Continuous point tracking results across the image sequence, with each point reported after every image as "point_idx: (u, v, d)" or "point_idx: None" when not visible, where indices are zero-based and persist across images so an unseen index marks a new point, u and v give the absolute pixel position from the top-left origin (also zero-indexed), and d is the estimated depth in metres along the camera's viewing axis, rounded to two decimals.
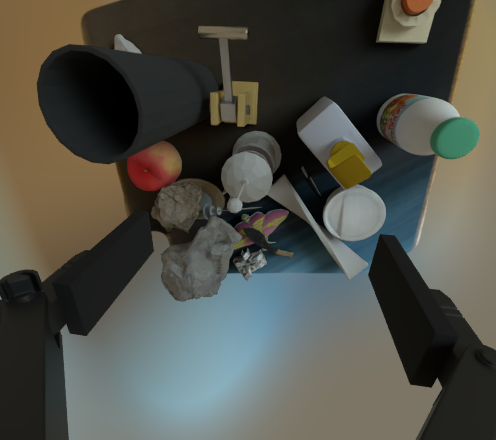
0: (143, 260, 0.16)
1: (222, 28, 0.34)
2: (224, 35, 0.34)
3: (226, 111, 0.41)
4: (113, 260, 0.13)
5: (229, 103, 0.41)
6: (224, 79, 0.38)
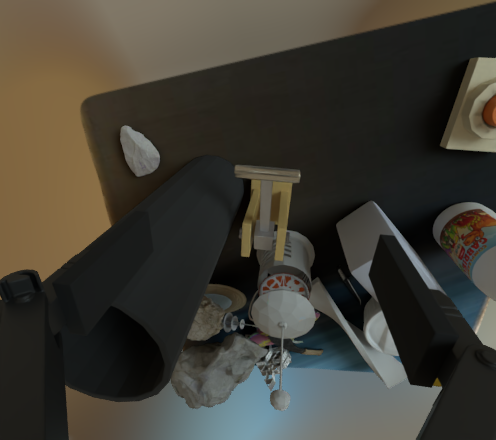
0: (143, 260, 0.16)
1: (266, 170, 0.26)
2: (269, 178, 0.26)
3: (260, 242, 0.33)
4: (113, 260, 0.13)
5: (266, 235, 0.32)
6: (262, 214, 0.30)
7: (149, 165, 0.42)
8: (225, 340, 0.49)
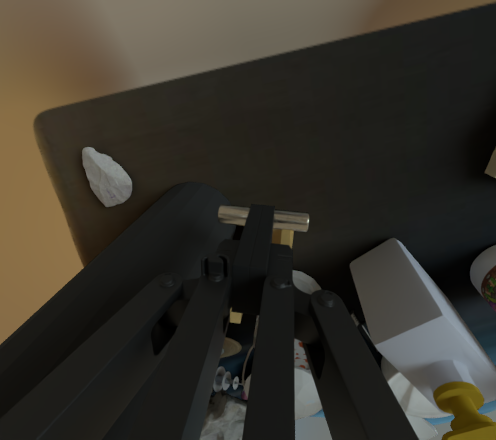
0: None
1: None
2: None
3: None
4: None
5: None
6: None
7: (119, 194, 0.35)
8: (216, 397, 0.41)
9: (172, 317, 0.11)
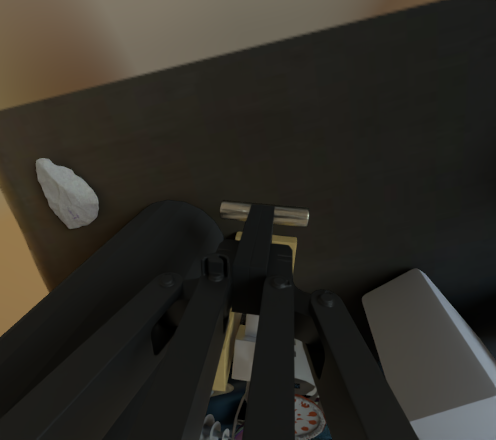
0: None
1: None
2: None
3: (245, 357, 0.19)
4: None
5: (255, 340, 0.19)
6: None
7: (84, 214, 0.29)
8: None
9: (172, 317, 0.11)
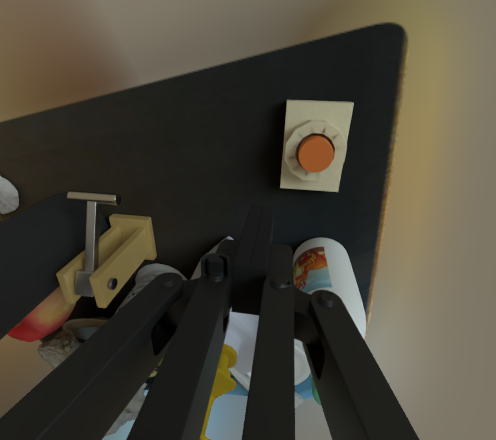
0: None
1: (93, 193, 0.33)
2: (93, 198, 0.33)
3: (81, 281, 0.33)
4: None
5: (88, 271, 0.33)
6: (87, 243, 0.33)
7: (9, 204, 0.42)
8: None
9: (172, 317, 0.11)
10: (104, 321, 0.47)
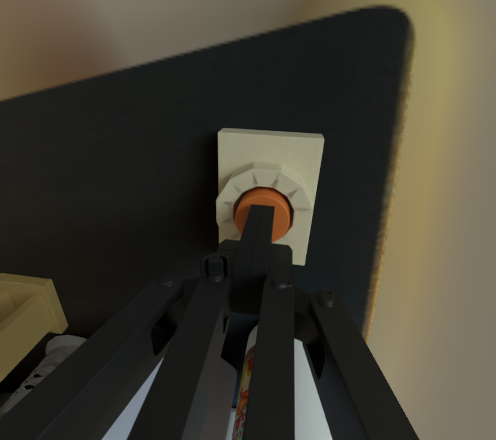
0: None
1: None
2: None
3: None
4: None
5: None
6: None
7: None
8: None
9: (172, 317, 0.11)
10: None
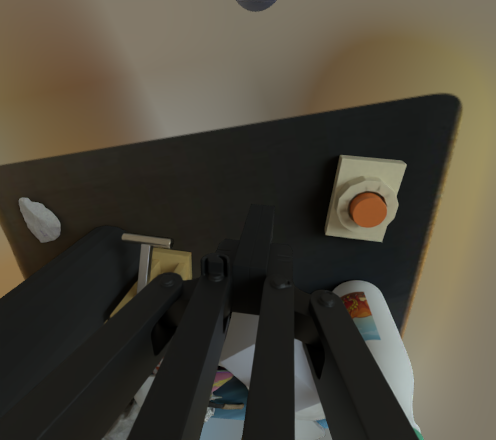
0: None
1: (147, 236, 0.34)
2: (147, 242, 0.34)
3: None
4: None
5: None
6: (139, 285, 0.34)
7: (50, 233, 0.43)
8: None
9: (172, 317, 0.11)
10: None
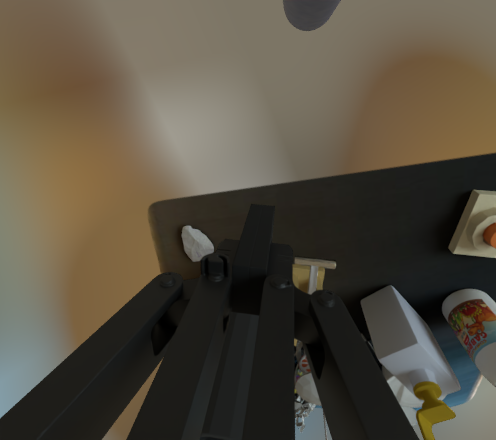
0: None
1: (314, 259, 0.42)
2: (316, 264, 0.41)
3: None
4: None
5: None
6: None
7: (204, 254, 0.51)
8: None
9: (172, 317, 0.11)
10: None
